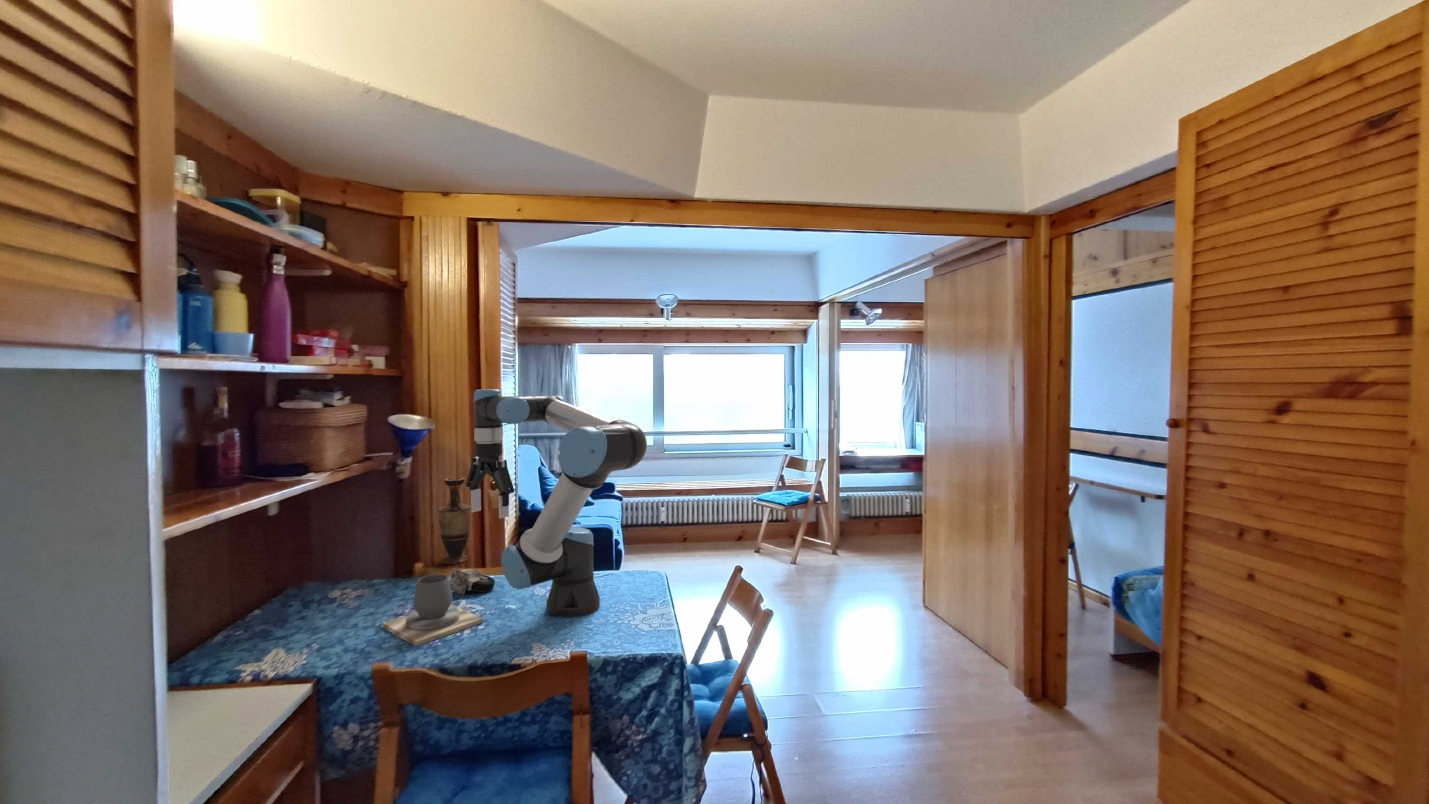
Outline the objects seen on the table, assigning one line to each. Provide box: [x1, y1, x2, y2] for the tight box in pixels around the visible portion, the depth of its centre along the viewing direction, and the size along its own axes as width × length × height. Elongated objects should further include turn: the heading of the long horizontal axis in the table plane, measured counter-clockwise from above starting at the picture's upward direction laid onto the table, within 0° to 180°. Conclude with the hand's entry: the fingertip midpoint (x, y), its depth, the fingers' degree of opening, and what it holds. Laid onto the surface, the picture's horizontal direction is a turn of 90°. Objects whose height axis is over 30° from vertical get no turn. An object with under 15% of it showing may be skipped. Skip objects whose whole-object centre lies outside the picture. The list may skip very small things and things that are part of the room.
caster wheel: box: [449, 567, 496, 596], centre depth 186 cm, size 7×11×10 cm
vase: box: [437, 477, 471, 565], centre depth 214 cm, size 11×11×30 cm
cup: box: [412, 573, 453, 619], centre depth 159 cm, size 10×9×10 cm
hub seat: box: [382, 603, 484, 647], centre depth 160 cm, size 18×18×3 cm
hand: (489, 514), depth 174 cm, fingers open, 13 cm apart
